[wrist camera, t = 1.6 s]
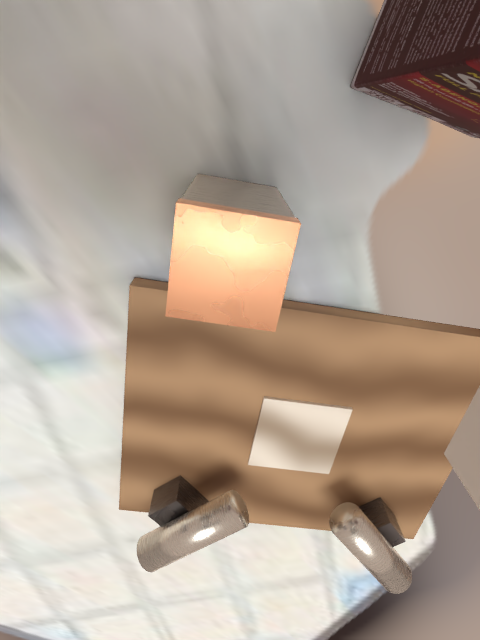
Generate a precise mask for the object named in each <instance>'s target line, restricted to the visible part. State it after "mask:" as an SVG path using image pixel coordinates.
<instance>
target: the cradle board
mask: <svg viewBox="0 0 480 640" xmlns="http://www.w3.org/2000/svg"><path fill="white" fill-rule="evenodd" d="M167 293H168V282H162V281H155V280H149V279H142V278H134V279H133V281H132V283H131V284H130V290H129V311H128V332H127V353H126V374H125V395H124V416H123V437H122V458H121V479H120V500H119V510H129V511H139V512H149V510H150V505H151V501H152V496H153V491H154V489H156V488H158V487H159V486H161V485H163V484H165V483H167V482H169V481H170V480H172V479H174V478H176V477H178V476H180V475H181V476H182V477H183V478H184V479H185V480H187V481H188V482H189V483H190V484H191V485H192V486H193V487H194V488H195V489H196V490H198V491H199V492H200V493H201V494H202V495H203V496H204V497H205V498H206V499H207V500H208V501H211V500H213V499H215V498H217V497H219V496H221V495H223V494H225V493H226V492H228V491H230V490H235V491H237V492H238V493H239V494H240V495H241V497H242V498H243V500H244V502H245V504H246V506H247V509H248V514H249V523H258V524H268V525H278V526H288V527H298V528H308V529H318V530H328V531H331V529H330V525H329V520H330V516H331V513H332V512H333V510H334V509H335V508H336V507H337V506H338V505H340V504H342V503H346V502H350V503H354V504H356V505H357V506H358V507H359V506H361V505H363V504H366V503H368V502H370V501H372V500H374V499H376V498H379V497H381V498H382V500H383V501H384V502H385V503H386V505H387V506H388V507H389V508H390V510H391V511H392V512H393V513H394V515H395V517H396V519H397V522H398V524H399V526H400V529H401V531H402V534H403V536H404V538H408V539H414V537H415V535H416V533H417V531H418V529H419V528H420V526H421V524H422V522H423V520H424V519H425V517H426V515H427V513H428V511H429V510H430V508H431V506H432V504H433V502H434V501H435V499H436V497H437V495H438V493H439V492H440V490H441V488H442V486H443V484H444V483H445V481H446V479H447V477H448V475H449V474H450V472H451V470H452V466H451V464H450V463H449V461H448V460H447V458H446V456H445V455H444V453H445V451H446V449H447V447H448V445H449V443H450V441H451V439H452V437H453V435H454V434H455V432H456V430H457V428H458V426H459V424H460V422H461V420H462V418H463V416H464V415H465V413H466V411H467V409H468V407H469V405H470V403H471V401H472V399H473V397H474V395H475V394H476V392H477V390H478V388H479V386H480V329H476V328H469V327H462V326H456V325H449V324H442V323H435V322H429V321H422V320H416V319H408V318H402V317H396V316H388V315H382V314H376V313H369V312H362V311H356V310H349V309H342V308H336V307H329V306H322V305H316V304H309V303H302V302H295V301H289V300H283V302H282V306H281V310H280V315H279V319H278V323H277V327H276V332H271V331H264V330H257V329H250V328H243V327H236V326H229V325H222V324H215V323H208V322H201V321H194V320H187V319H180V318H173V317H166V316H165V314H166V304H167Z"/></svg>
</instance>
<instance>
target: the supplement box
mask: <svg viewBox="0 0 480 640" xmlns="http://www.w3.org/2000/svg"><path fill="white" fill-rule="evenodd" d="M351 87H352V88H353V89H355V90H358V91H361V92H363V93H366V94H369V95H371V96H374V97H376V98H379V99H381V100H384V101H386V102H389V103H392V104H394V105H397V106H400V107H402V108H405V109H407V110H410V111H412V112H415V113H418V114H420V115H423V116H425V117H427V118H430V119H432V120H434V121H437V122H439V123H441V124H444V125H446V126H448V127H450V128H453V129H455V130H457V131H460V132H462V133H464V134H466V135H469V136H471V137H474V138H480V0H384V3H383V5H382V8H381V10H380V13H379V15H378V18H377V20H376V23H375V25H374V28H373V30H372V33H371V36H370V38H369V41H368V43H367V46H366V48H365V51H364V53H363V56H362V58H361V61H360V63H359V66H358V69H357V71H356V74H355V76H354V79H353V81H352V84H351Z"/></svg>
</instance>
